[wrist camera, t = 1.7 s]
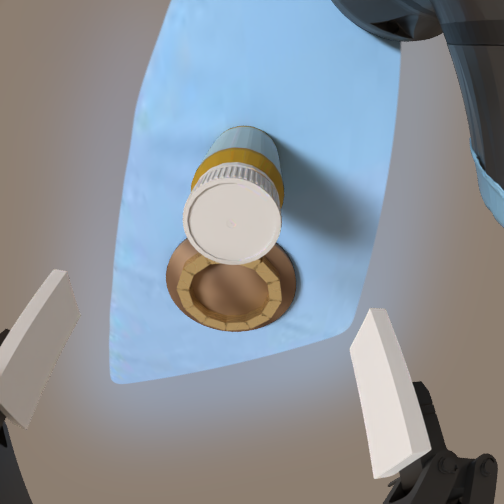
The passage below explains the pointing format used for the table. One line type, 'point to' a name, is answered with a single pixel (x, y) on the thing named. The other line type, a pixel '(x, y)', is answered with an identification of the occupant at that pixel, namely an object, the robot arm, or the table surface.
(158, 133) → the table surface
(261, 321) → the ring tray
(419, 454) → the robot arm
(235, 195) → the bottle
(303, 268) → the table surface
